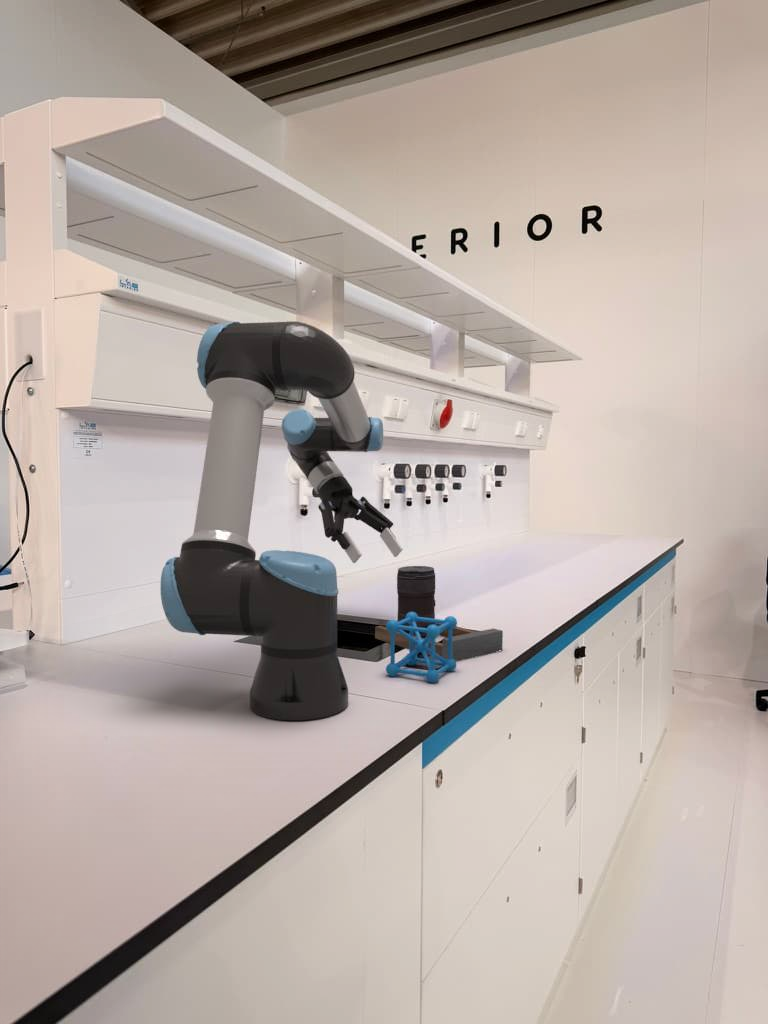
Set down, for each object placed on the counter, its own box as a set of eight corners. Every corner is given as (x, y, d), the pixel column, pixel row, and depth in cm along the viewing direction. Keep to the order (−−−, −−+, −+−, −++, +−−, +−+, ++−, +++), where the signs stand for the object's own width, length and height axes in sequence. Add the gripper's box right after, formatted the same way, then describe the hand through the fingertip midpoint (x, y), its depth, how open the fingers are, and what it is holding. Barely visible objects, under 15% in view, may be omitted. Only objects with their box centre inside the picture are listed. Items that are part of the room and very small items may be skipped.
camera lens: (399, 632, 161) (399, 564, 160) (436, 634, 159) (437, 565, 158) (394, 641, 153) (394, 570, 152) (432, 643, 151) (433, 571, 150)
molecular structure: (408, 663, 137) (408, 610, 136) (458, 670, 133) (459, 615, 132) (383, 676, 128) (383, 620, 128) (436, 685, 124) (436, 626, 123)
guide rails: (442, 659, 139) (442, 646, 139) (375, 638, 156) (375, 626, 155) (493, 648, 148) (493, 635, 148) (424, 629, 164) (424, 618, 164)
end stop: (451, 662, 137) (451, 641, 137) (442, 659, 139) (442, 638, 139) (502, 650, 146) (502, 630, 146) (493, 648, 148) (493, 628, 148)
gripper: (359, 495, 182) (405, 561, 173) (282, 498, 163) (329, 573, 154) (375, 473, 178) (423, 540, 169) (298, 475, 159) (347, 550, 151)
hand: (379, 556), depth 162 cm, fingers open, 13 cm apart
